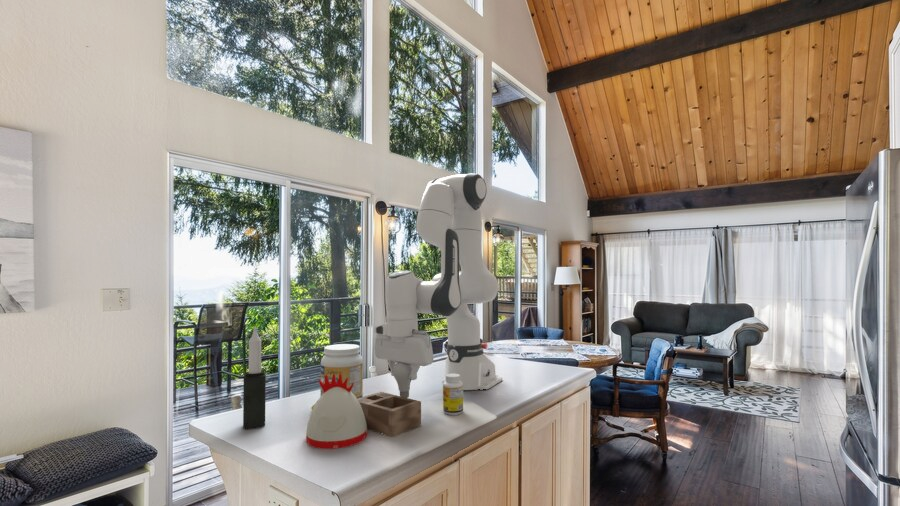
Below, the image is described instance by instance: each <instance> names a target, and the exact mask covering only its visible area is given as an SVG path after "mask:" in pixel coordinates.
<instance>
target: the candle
mask: <svg viewBox="0 0 900 506" xmlns="http://www.w3.org/2000/svg"><path fill="white" fill-rule="evenodd" d="M257 329H258V328H257V327H256V326H254V327H253V332H252V334H251V337H250V339H249V340H248V371H246V372H245V373H244V375H243V402H242V403H243V405H242V407H243V408H242V409H243V411H242V412H243V413H242V416H243V418H242V419H243V420H242V430H252V429H261V428H264V427H265V426H266V391H267V390H266V386H267V385H266V380H267V378H266V377H267V375H266V372H265V371H264V370H262V339H261V338H260V336H259V332H258V330H257Z"/></svg>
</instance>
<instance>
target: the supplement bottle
mask: <svg viewBox="0 0 900 506" xmlns="http://www.w3.org/2000/svg"><path fill="white" fill-rule="evenodd" d="M442 383H443V384H442V407H443V409H442V410H443V413H444V414H446V415H449V416H457V415H461V414H462V413H463V412H464V390H463V383H462V382H461V381H460V375H459V374H447V375H446V381H445V382H442Z"/></svg>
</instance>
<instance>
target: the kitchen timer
mask: <svg viewBox="0 0 900 506" xmlns="http://www.w3.org/2000/svg"><path fill="white" fill-rule="evenodd" d="M347 381H348V377H347V378H346V380H345V382H343V381H342V375H341V373H340V374H339V378H338V382H336V378H335V373H334V374H333V377H332V382H331V383H330V382H329V379H328V376H327V374H326V375H325V383H323V382H322V381H321V379H319V380H318V383H319V386H320V389H321V388H322V390H323V392H324V393H323V394H322V395H321V394H320V397H319V398H318V399H317V400H316V402H315V403H314V404H313V405H312V406H311V412H310V415H309V419H308V422H307V426H306V433H305V439H306V440H305V441H306V444H308V446H310V447H312V448H315V449H322V450H326V449H328V450H331V449H332V450H333V449H341V448H347V447H351V446H354V445H357V444H359V443H361V442H363V441H364V440H365V439H366V438H367V435H368V429H367V424H366V420H365V416H364V413H363V410H362V407H361V405H360V403H359V401H358V400H357V398H356V397H355V395H354V394H353V393H352V392H351V389H352V387H353V385H354V382H353V383H352V385H351V386H350V387H347Z"/></svg>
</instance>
